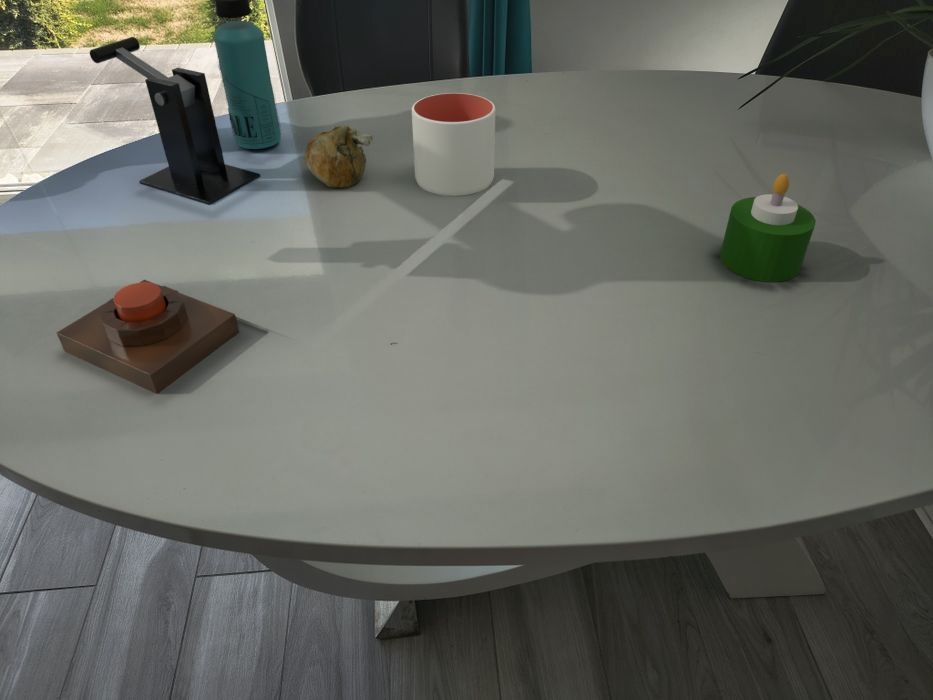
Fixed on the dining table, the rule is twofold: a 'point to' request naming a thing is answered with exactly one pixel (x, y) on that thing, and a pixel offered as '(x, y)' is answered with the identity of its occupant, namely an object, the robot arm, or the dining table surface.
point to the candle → (767, 236)
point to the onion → (337, 156)
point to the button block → (150, 339)
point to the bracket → (191, 143)
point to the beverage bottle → (246, 77)
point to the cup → (454, 143)
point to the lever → (140, 65)
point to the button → (139, 302)
